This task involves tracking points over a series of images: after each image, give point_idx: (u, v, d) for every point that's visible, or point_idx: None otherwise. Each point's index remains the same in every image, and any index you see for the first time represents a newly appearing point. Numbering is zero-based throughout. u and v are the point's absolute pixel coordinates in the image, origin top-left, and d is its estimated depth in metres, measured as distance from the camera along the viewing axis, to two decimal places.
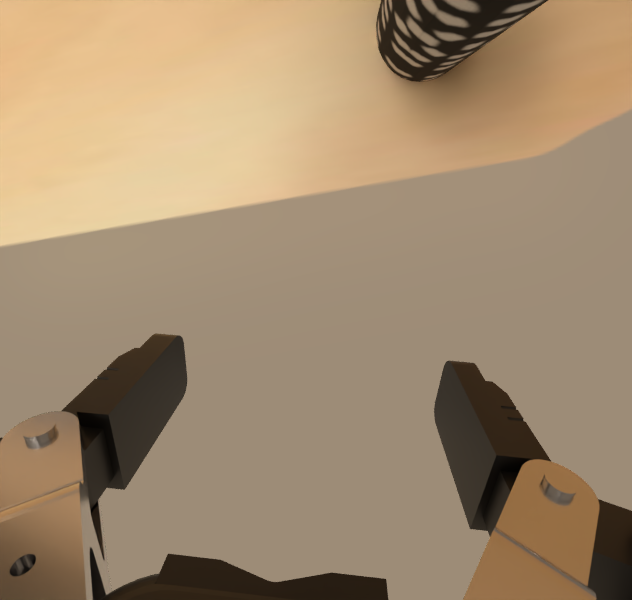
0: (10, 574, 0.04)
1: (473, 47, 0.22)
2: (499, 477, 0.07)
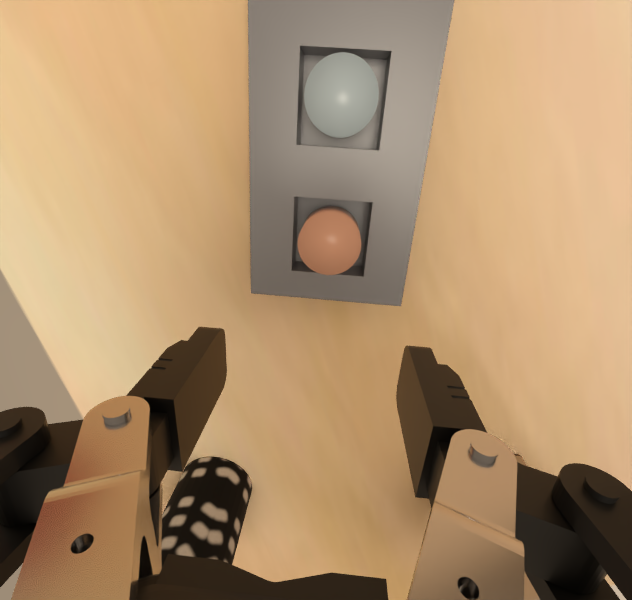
0: (71, 550, 0.04)
1: None
2: (438, 446, 0.08)
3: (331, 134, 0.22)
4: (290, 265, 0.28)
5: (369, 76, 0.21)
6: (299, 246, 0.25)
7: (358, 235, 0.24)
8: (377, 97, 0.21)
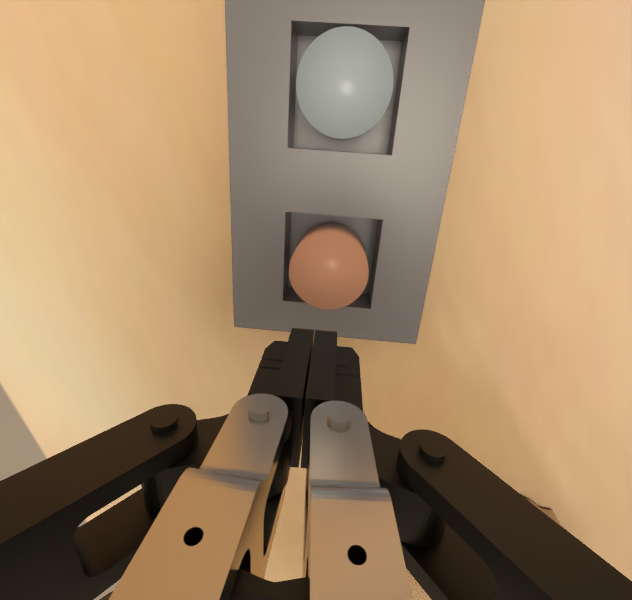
0: (184, 537, 0.05)
1: None
2: None
3: (331, 134, 0.17)
4: (281, 294, 0.23)
5: (381, 58, 0.16)
6: (291, 274, 0.20)
7: (365, 261, 0.19)
8: (391, 86, 0.16)
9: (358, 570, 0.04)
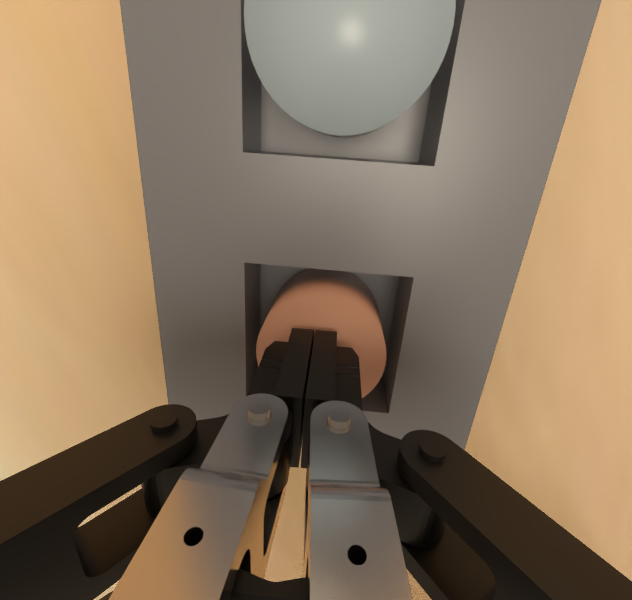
0: (183, 537, 0.05)
1: None
2: None
3: (320, 126, 0.08)
4: (243, 389, 0.14)
5: None
6: (260, 357, 0.12)
7: (381, 340, 0.12)
8: (451, 20, 0.07)
9: (358, 570, 0.04)
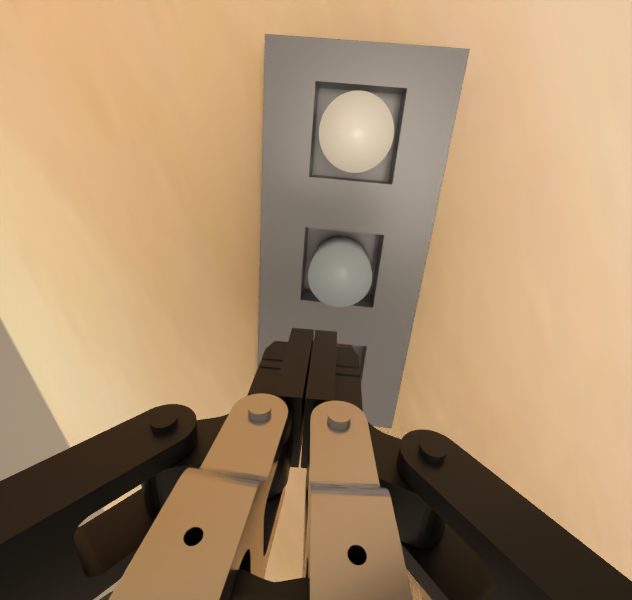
0: (184, 537, 0.05)
1: None
2: None
3: (330, 304, 0.25)
4: None
5: (364, 264, 0.24)
6: None
7: None
8: (371, 279, 0.24)
9: (358, 570, 0.04)
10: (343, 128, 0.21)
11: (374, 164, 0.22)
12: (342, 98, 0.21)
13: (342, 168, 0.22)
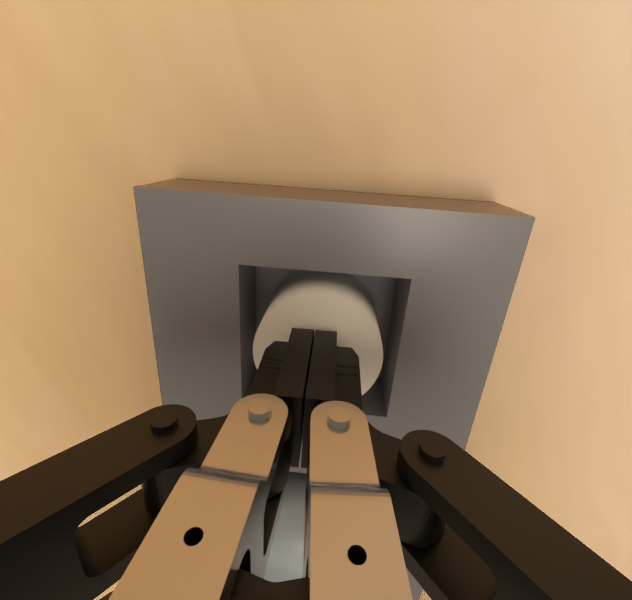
0: (184, 538, 0.05)
1: None
2: None
3: None
4: None
5: None
6: None
7: None
8: None
9: (358, 570, 0.04)
10: None
11: None
12: (289, 307, 0.11)
13: None
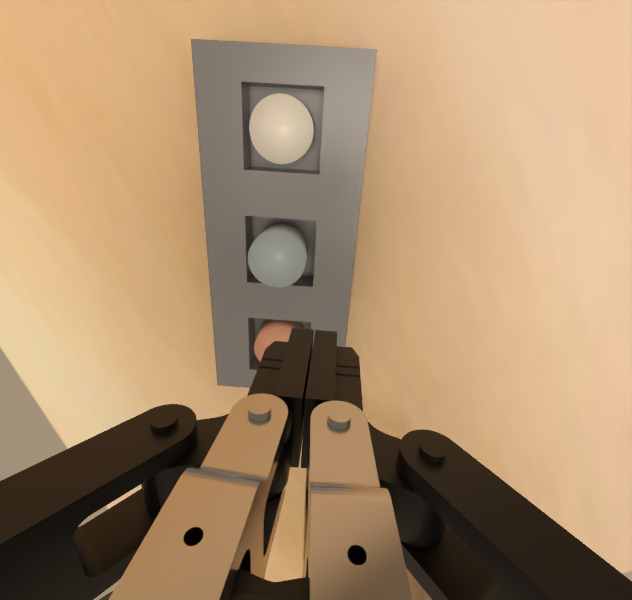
0: (184, 537, 0.05)
1: None
2: None
3: (271, 285, 0.28)
4: (248, 365, 0.34)
5: (297, 248, 0.27)
6: (255, 350, 0.33)
7: None
8: (304, 262, 0.27)
9: (358, 570, 0.04)
10: (269, 126, 0.25)
11: (299, 156, 0.25)
12: (266, 100, 0.24)
13: (272, 160, 0.26)
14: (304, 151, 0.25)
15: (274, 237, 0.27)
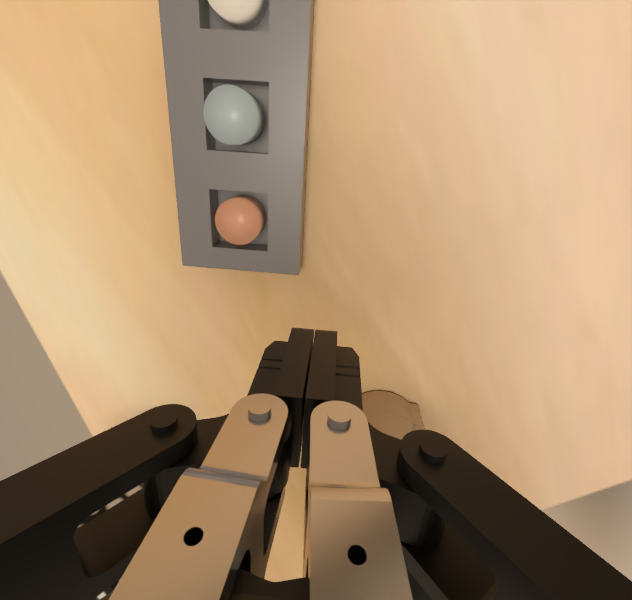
0: (184, 537, 0.05)
1: None
2: None
3: (225, 142, 0.30)
4: (211, 243, 0.36)
5: (248, 101, 0.29)
6: (216, 223, 0.34)
7: (257, 215, 0.34)
8: (255, 116, 0.29)
9: (358, 570, 0.04)
10: None
11: (248, 10, 0.28)
12: None
13: (224, 15, 0.28)
14: (253, 5, 0.27)
15: (227, 89, 0.29)
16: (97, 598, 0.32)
